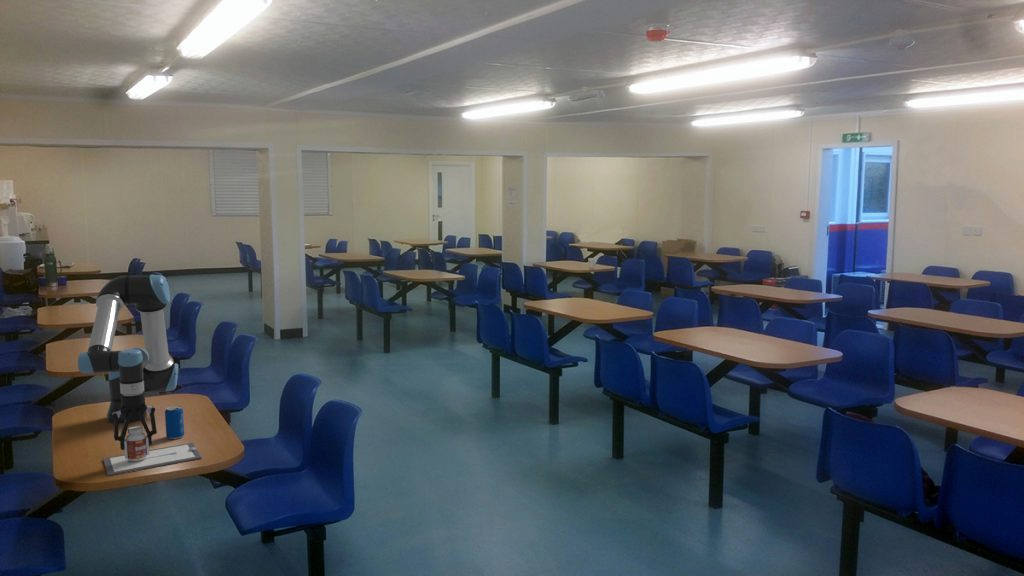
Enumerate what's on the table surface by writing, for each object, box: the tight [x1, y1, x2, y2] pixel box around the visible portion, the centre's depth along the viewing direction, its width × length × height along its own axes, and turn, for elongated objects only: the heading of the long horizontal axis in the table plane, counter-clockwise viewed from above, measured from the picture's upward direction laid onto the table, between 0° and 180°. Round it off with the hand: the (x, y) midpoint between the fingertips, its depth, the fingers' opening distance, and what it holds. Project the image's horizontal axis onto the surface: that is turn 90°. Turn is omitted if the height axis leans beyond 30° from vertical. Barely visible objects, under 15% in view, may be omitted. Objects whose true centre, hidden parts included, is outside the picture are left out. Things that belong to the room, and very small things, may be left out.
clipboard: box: [102, 442, 203, 477], centre depth 266 cm, size 18×30×1 cm, turn 124°
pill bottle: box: [125, 426, 147, 461], centre depth 262 cm, size 6×6×11 cm
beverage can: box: [164, 405, 185, 440], centre depth 289 cm, size 6×6×12 cm
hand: (136, 455), depth 263 cm, fingers closed on pill bottle, 6 cm apart
